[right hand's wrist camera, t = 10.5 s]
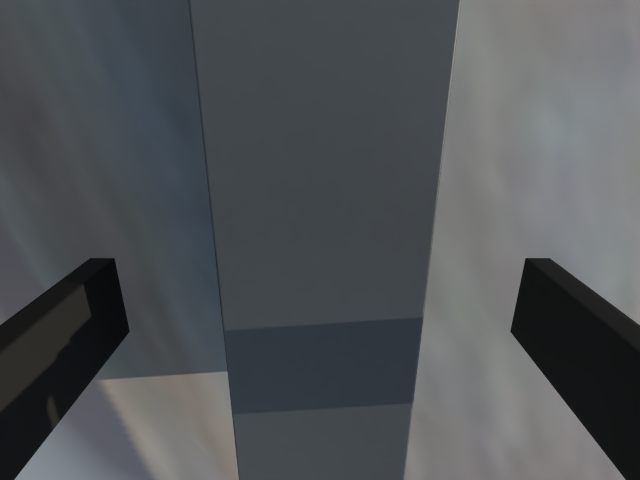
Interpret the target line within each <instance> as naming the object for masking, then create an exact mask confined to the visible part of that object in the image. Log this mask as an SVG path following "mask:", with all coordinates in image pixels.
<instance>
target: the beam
mask: <svg viewBox="0 0 640 480" xmlns="http://www.w3.org/2000/svg"><path fill="white" fill-rule="evenodd" d="M460 7H461V0H189V10H190V19H191V29H192V38H193V47H194V57H195V66H196V76H197V85H198V95H199V104H200V114H201V123H202V133H203V142H204V152H205V161H206V171H207V180H208V190H209V199H210V209H211V218H212V227H213V237H214V246H215V256H216V265H217V275H218V284H219V294H220V303H221V313H222V322H223V332H224V341H225V351H226V360H227V370H228V379H229V389H230V398H231V407H232V417H233V426H234V436H235V445H236V455H237V464H238V474H239V480H404V475H405V467H406V458H407V450H408V442H409V433H410V425H411V416H412V408H413V400H414V391H415V383H416V375H417V366H418V358H419V350H420V341H421V333H422V325H423V316H424V308H425V299H426V291H427V283H428V274H429V266H430V258H431V249H432V241H433V233H434V224H435V216H436V208H437V199H438V191H439V182H440V174H441V166H442V157H443V149H444V141H445V132H446V124H447V116H448V107H449V99H450V91H451V82H452V74H453V65H454V57H455V49H456V40H457V32H458V24H459V15H460Z"/></svg>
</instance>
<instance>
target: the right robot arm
mask: <svg viewBox="0 0 640 480" xmlns="http://www.w3.org/2000/svg"><path fill="white" fill-rule="evenodd" d="M129 332H130V331H129V327H128V322H127V317H126V312H125V307H124V303H123V298H122V293H121V288H120V283H119V278H118V274H117V269H116V264H115V259H114V258H90V259H89V260H87V261H86V262H85V263H83V264H82V265H81V266H79V267H78V268H77V269H75V270H74V271H73V272H71V273H70V274H69V275H67V276H66V277H65V278H63V279H62V280H61V281H59V282H58V283H56V284H55V285H54V286H52V287H51V288H50V289H48V290H47V291H46V292H44V293H43V294H42V295H40V296H39V297H38V298H36V299H35V300H34V301H32V302H31V303H30V304H28V305H27V306H26V307H24V308H23V309H22V310H20V311H19V312H18V313H16V314H15V315H14V316H12V317H11V318H10V319H8V320H7V321H5V322H4V323H3V324H1V325H0V480H14V479H15V478H16V477H17V475H18V474H19V473H20V471H21V470H22V469H23V468H24V466H25V465H26V464H27V462H28V461H29V460H30V459H31V457H32V456H33V455H34V454H35V452H36V451H37V450H38V448H39V447H40V446H41V444H42V443H43V442H44V441H45V439H46V438H47V437H48V436H49V434H50V433H51V432H52V430H53V429H54V428H55V427H56V425H57V424H58V423H59V421H60V420H61V419H62V418H63V416H64V415H65V414H66V412H67V411H68V410H69V409H70V407H71V406H72V405H73V403H74V402H75V401H76V400H77V398H78V397H79V396H80V394H81V393H82V392H83V391H84V389H85V388H86V387H87V385H88V384H89V383H90V382H91V380H92V379H93V378H94V377H95V375H96V374H97V373H98V371H99V370H100V369H101V368H102V366H103V365H104V364H105V362H106V361H107V360H108V359H109V357H110V356H111V355H112V353H113V352H114V351H115V350H116V348H117V347H118V346H119V344H120V343H121V342H122V341H123V339H124V338H125V337H126V335H127V334H128V333H129ZM510 332H511V333H512V334H513V335H514V337H515V338H516V339H517V341H518V342H519V343H520V344H521V346H522V347H523V348H524V350H525V351H526V352H527V353H528V355H529V356H530V357H531V359H532V360H533V361H534V362H535V364H536V365H537V366H538V368H539V369H540V370H541V371H542V373H543V374H544V375H545V377H546V378H547V379H548V380H549V382H550V383H551V384H552V385H553V387H554V388H555V389H556V391H557V392H558V393H559V394H560V396H561V397H562V398H563V400H564V401H565V402H566V403H567V405H568V406H569V407H570V409H571V410H572V411H573V412H574V414H575V415H576V416H577V418H578V419H579V420H580V421H581V423H582V424H583V425H584V427H585V428H586V429H587V430H588V432H589V433H590V434H591V436H592V437H593V438H594V439H595V441H596V442H597V443H598V445H599V446H600V447H601V448H602V450H603V451H604V452H605V454H606V455H607V456H608V457H609V459H610V460H611V461H612V462H613V464H614V465H615V466H616V468H617V469H618V470H619V471H620V473H621V474H622V475H623V477H624V478H625V479H626V480H640V325H639V324H637V323H636V322H635V321H633V320H632V319H630V318H629V317H628V316H626V315H625V314H624V313H622V312H621V311H620V310H618V309H617V308H616V307H614V306H613V305H612V304H610V303H609V302H608V301H606V300H605V299H604V298H602V297H601V296H600V295H598V294H597V293H596V292H594V291H593V290H592V289H590V288H589V287H588V286H586V285H585V284H584V283H582V282H581V281H579V280H578V279H577V278H575V277H574V276H573V275H571V274H570V273H569V272H567V271H566V270H565V269H563V268H562V267H561V266H559V265H558V264H557V263H555V262H554V261H553V260H551V259H550V258H526V259H525V264H524V269H523V274H522V278H521V283H520V288H519V293H518V298H517V303H516V307H515V312H514V317H513V322H512V327H511V331H510Z"/></svg>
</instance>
